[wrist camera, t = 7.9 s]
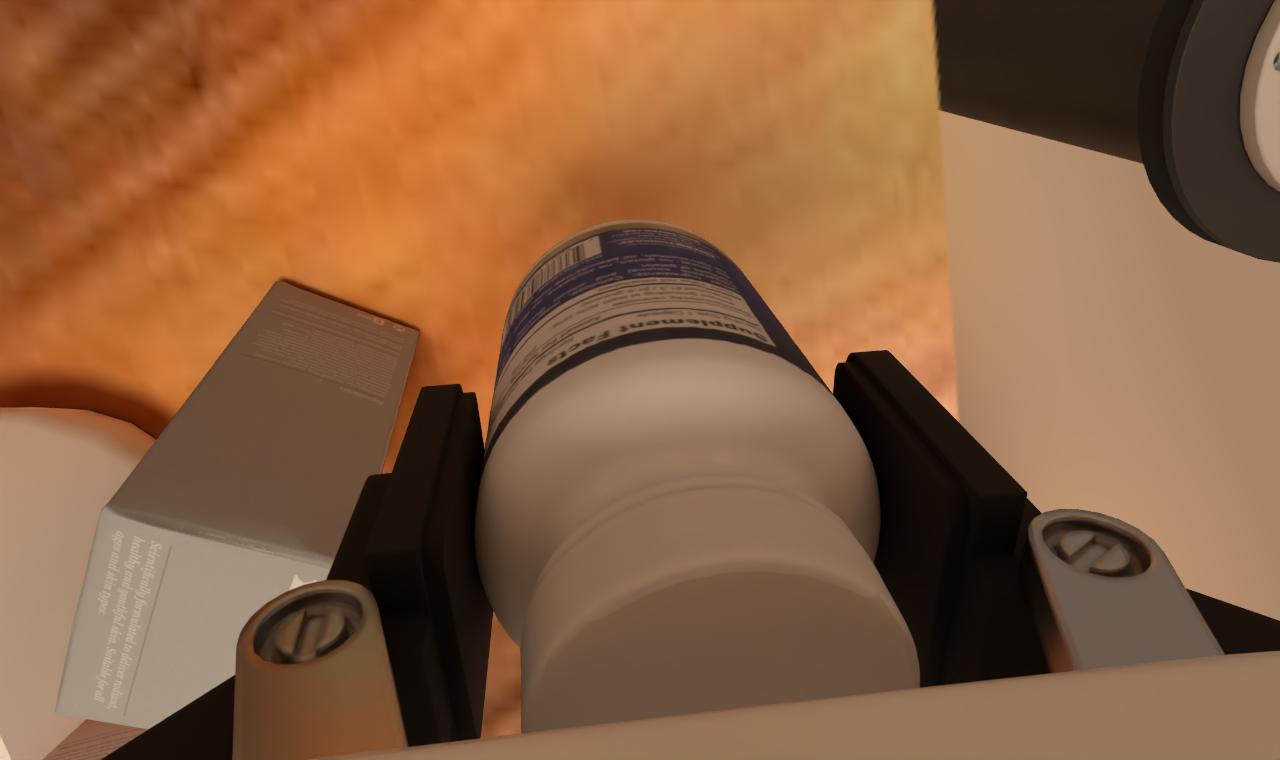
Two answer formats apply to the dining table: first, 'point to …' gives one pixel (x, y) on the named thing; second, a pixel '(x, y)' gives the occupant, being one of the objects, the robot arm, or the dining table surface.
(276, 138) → the dining table surface
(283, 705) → the robot arm
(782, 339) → the pill bottle
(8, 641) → the white vase
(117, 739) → the string lights box
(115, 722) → the cosmetic box
